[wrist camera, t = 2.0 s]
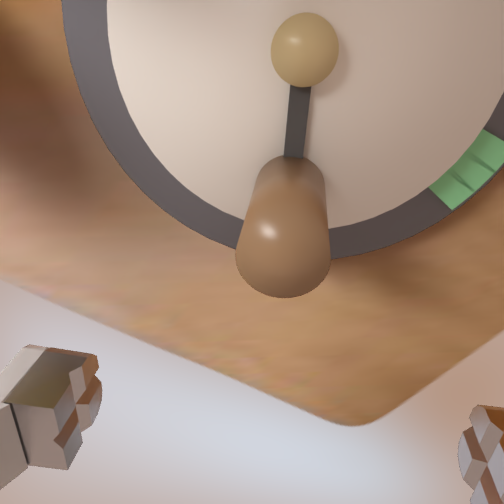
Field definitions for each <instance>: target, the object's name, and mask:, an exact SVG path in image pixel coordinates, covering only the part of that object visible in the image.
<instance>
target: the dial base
mask: <svg viewBox="0 0 504 504" xmlns="http://www.w3.org/2000/svg"><path fill="white" fill-rule="evenodd" d="M61 1H62V12H63V24H64V31H65V36H66V41H67V46H68V51H69V56H70V61H71V65H72V68H73V71H74V74H75V78H76V81H77V84H78V87H79V90H80V93H81V96H82V98H83V100H84V103H85V105H86V107H87V110H88V112H89V114H90V116H91V119H92V121H93V123H94V125H95V127H96V128H97V130H98V132H99V134H100V135H101V137H102V139H103V141H104V142H105V144H106V146H107V148H108V149H109V151H110V152H111V153H112V155H113V156H114V157H115V159H116V160H117V162H118V163H119V164H120V166H121V167H122V168H123V170H124V171H125V173H126V174H127V175H128V176H129V177H130V178H131V179H132V180H133V181H134V182H135V184H136V185H137V186H138V187H139V188H140V189H141V190H142V191H143V192H144V193H145V194H146V195H147V196H148V197H149V198H150V199H151V200H153V201H154V202H155V203H156V204H157V205H158V206H159V207H161V208H162V209H163V210H164V211H165V212H167V213H168V214H169V215H171V216H172V217H174V218H175V219H177V220H178V221H179V222H181V223H182V224H184V225H185V226H187V227H189V228H190V229H192V230H194V231H196V232H198V233H200V234H201V235H203V236H205V237H207V238H209V239H211V240H214V241H216V242H218V243H221V244H223V245H226V246H228V247H231V248H233V249H236V247H237V244H238V240H239V237H240V233H241V230H242V227H243V223H244V220H242V219H240V218H237V217H235V216H233V215H230V214H228V213H225V212H223V211H221V210H220V209H218V208H216V207H214V206H212V205H211V204H209V203H207V202H205V201H204V200H202V199H201V198H200V197H198V196H197V195H195V194H194V193H193V192H191V191H190V190H189V189H187V188H186V187H185V186H184V185H183V184H182V183H180V182H179V181H178V180H177V179H176V178H175V177H174V176H173V175H172V174H171V173H170V172H169V171H168V170H167V169H166V168H165V167H164V165H163V164H162V163H161V162H160V161H159V160H158V159H157V157H156V156H155V155H154V154H153V152H152V151H151V149H150V148H149V146H148V145H147V143H146V142H145V141H144V139H143V138H142V136H141V135H140V133H139V131H138V129H137V127H136V125H135V123H134V121H133V120H132V118H131V116H130V114H129V112H128V109H127V107H126V104H125V102H124V99H123V97H122V94H121V92H120V89H119V85H118V82H117V78H116V74H115V71H114V67H113V63H112V57H111V51H110V45H109V38H108V23H107V0H61ZM503 167H504V92H503V94H502V96H501V98H500V100H499V102H498V103H497V105H496V107H495V109H494V111H493V113H492V115H491V117H490V118H489V120H488V121H487V123H486V124H485V126H484V127H483V129H482V130H481V132H480V133H479V135H478V136H477V137H476V139H475V140H474V142H473V143H472V144H471V145H470V147H469V148H468V149H467V150H466V151H465V152H464V154H463V155H462V156H461V157H460V158H459V159H458V160H457V162H456V163H455V164H454V165H453V166H452V167H450V168H449V169H448V170H447V171H446V172H445V173H444V174H443V175H442V176H441V177H440V178H439V179H438V180H436V181H435V182H434V183H433V184H431V185H430V186H428V187H427V188H426V189H424V190H423V191H422V192H420V193H419V194H418V195H416V196H415V197H413V198H411V199H410V200H408V201H406V202H404V203H403V204H401V205H399V206H398V207H396V208H394V209H392V210H389V211H387V212H385V213H383V214H380V215H378V216H376V217H373V218H370V219H367V220H364V221H361V222H358V223H354V224H351V225H346V226H341V227H335V228H330V229H328V230H329V242H330V255H331V259H337V258H343V257H348V256H354V255H360V254H363V253H367V252H370V251H374V250H377V249H381V248H384V247H387V246H390V245H392V244H395V243H397V242H399V241H402V240H404V239H407V238H409V237H412V236H414V235H415V234H417V233H419V232H421V231H423V230H425V229H426V228H428V227H430V226H432V225H434V224H436V223H437V222H439V221H441V220H442V219H443V218H445V217H446V216H448V215H449V214H451V213H452V212H453V211H455V210H456V209H458V208H459V207H461V206H462V205H464V204H465V203H466V202H467V201H468V200H469V199H470V198H472V197H473V196H474V195H475V194H476V193H477V192H479V191H480V190H481V189H482V188H483V187H484V186H486V185H487V184H488V183H489V182H490V181H491V180H492V178H493V177H494V176H495V175H496V174H497V173H498V172H499V171H500V170H501V169H502V168H503Z"/></svg>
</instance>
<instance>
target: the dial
mask: <svg viewBox="0 0 504 504" xmlns="http://www.w3.org/2000/svg"><path fill="white" fill-rule="evenodd" d="M107 23H108V38H109V45H110V51H111V57H112V63H113V67H114V71H115V74H116V78H117V82H118V85H119V89H120V92H121V94H122V97H123V99H124V102H125V104H126V107H127V109H128V112H129V114H130V116H131V118H132V120H133V121H134V123H135V125H136V127H137V129H138V131H139V133H140V135H141V136H142V138H143V139H144V141H145V142H146V143H147V145H148V146H149V148H150V149H151V151H152V152H153V154H154V155H155V156H156V157H157V159H158V160H159V161H160V162H161V163H162V164H163V165H164V167H165V168H166V169H167V170H168V171H169V172H170V173H171V174H172V175H173V176H174V177H175V178H176V179H177V180H178V181H179V182H180V183H182V184H183V185H184V186H185V187H186V188H187V189H189V190H190V191H191V192H193V193H194V194H195V195H197V196H198V197H200V198H201V199H202V200H204V201H205V202H207V203H209V204H211V205H212V206H214V207H216V208H218V209H220V210H221V211H223V212H225V213H228V214H230V215H233V216H235V217H237V218H240V219H242V220H244V223H243V227H242V230H241V233H240V237H239V240H238V244H237V247H236V253H235V257H236V265H237V268H238V270H239V272H240V274H241V276H242V277H243V279H244V280H245V281H246V282H247V283H248V284H249V285H250V286H251V287H252V288H254V289H255V290H257V291H259V292H261V293H263V294H265V295H268V296H272V297H277V298H292V297H297V296H301V295H304V294H306V293H308V292H310V291H312V290H313V289H315V288H316V287H317V286H318V285H319V284H320V283H321V282H322V281H323V280H324V278H325V277H326V275H327V273H328V271H329V267H330V262H331V255H330V242H329V230H328V229H330V228H335V227H341V226H346V225H351V224H354V223H358V222H361V221H364V220H367V219H370V218H373V217H376V216H378V215H380V214H383V213H385V212H387V211H389V210H392V209H394V208H396V207H398V206H399V205H401V204H403V203H404V202H406V201H408V200H410V199H411V198H413V197H415V196H416V195H418V194H419V193H420V192H422V191H423V190H424V189H426V188H427V187H428V186H430V185H431V184H433V183H434V182H435V181H436V180H438V179H439V178H440V177H441V176H442V175H443V174H444V173H445V172H446V171H447V170H448V169H449V168H450V167H452V166H453V165H454V164H455V163H456V162H457V160H458V159H459V158H460V157H461V156H462V155H463V154H464V152H465V151H466V150H467V149H468V148H469V147H470V145H471V144H472V143H473V142H474V140H475V139H476V137H477V136H478V135H479V133H480V132H481V130H482V129H483V127H484V126H485V124H486V123H487V121H488V120H489V118H490V117H491V115H492V113H493V111H494V109H495V107H496V105H497V103H498V102H499V100H500V98H501V96H502V94H503V92H504V0H107Z"/></svg>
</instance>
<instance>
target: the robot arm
mask: <svg viewBox="0 0 504 504" xmlns="http://www.w3.org/2000/svg"><path fill="white" fill-rule="evenodd" d="M98 368H99V365H98V360H97V356H95V355H93V354H89V353H83V352H77V351H70V350H64V349H57V348H48V347H42V346H36V345H30V344H29V345H27V346H25V347H23V348H22V349H21V350H20V351H19V352H18V353H17V354H16V356H15V357H14V358H13V359H12V360H11V361H10V362H9V364H8V365H7V366H6V367H5V368H4V369H3V370H2V372H1V373H0V490H1V489H2V488H3V487H4V486H6V485H7V484H8V483H9V482H11V481H12V480H13V479H15V478H16V477H17V476H18V475H20V474H21V473H22V472H23V471H25V470H26V469H27V468H28V465H30V466H38V467H46V468H55V469H62V470H68V469H69V467H70V465H71V463H72V461H73V459H74V458H75V456H76V454H77V452H78V450H79V448H80V447H81V445H82V443H83V442H82V436H81V432H82V431H84V430H85V429H87V428H88V427H90V426H91V425H92V424H93V422H94V420H95V418H96V416H97V414H98V411H99V407H100V404H101V401H102V385H101V382H100V380H99V379H98V378H97V377H96V376H95V373H96V371H97V370H98ZM469 418H470V420H471V423H472V427H470V428H469V429H467V430H466V431H464V432H463V433H462V436H461V438H460V441H459V446H458V460H459V467H460V470H461V474H462V477H463V479H464V480H465V481H466V483H468V485H469V486H470V487H471V488H472V489H473V490H474V492H473V495H472V497H471V499H470V502H471V504H504V408H501V407H493V406H485V405H477V406H476V407H475V408H473V410H472V412H471V414H470V417H469Z"/></svg>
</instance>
